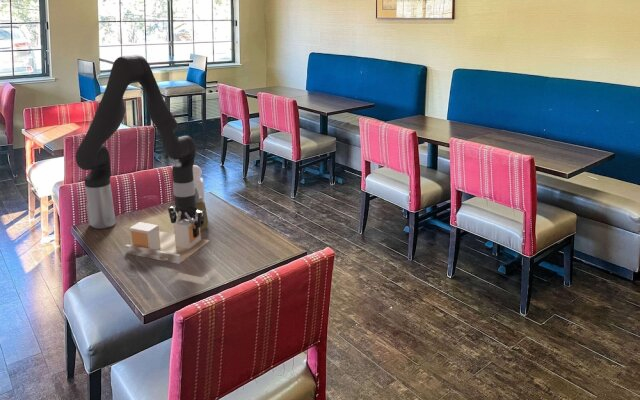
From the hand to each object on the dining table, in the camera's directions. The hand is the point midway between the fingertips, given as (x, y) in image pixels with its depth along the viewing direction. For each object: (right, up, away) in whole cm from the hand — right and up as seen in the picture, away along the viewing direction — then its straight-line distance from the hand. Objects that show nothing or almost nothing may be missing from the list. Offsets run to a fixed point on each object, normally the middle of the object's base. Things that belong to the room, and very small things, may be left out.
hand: (188, 235), depth 199 cm
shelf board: (-7, -5, -1) cm, 9 cm away
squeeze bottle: (+1, 0, +15) cm, 14 cm away
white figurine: (-3, +6, +30) cm, 30 cm away
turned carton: (0, -3, +1) cm, 3 cm away
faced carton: (-14, -5, -4) cm, 15 cm away
